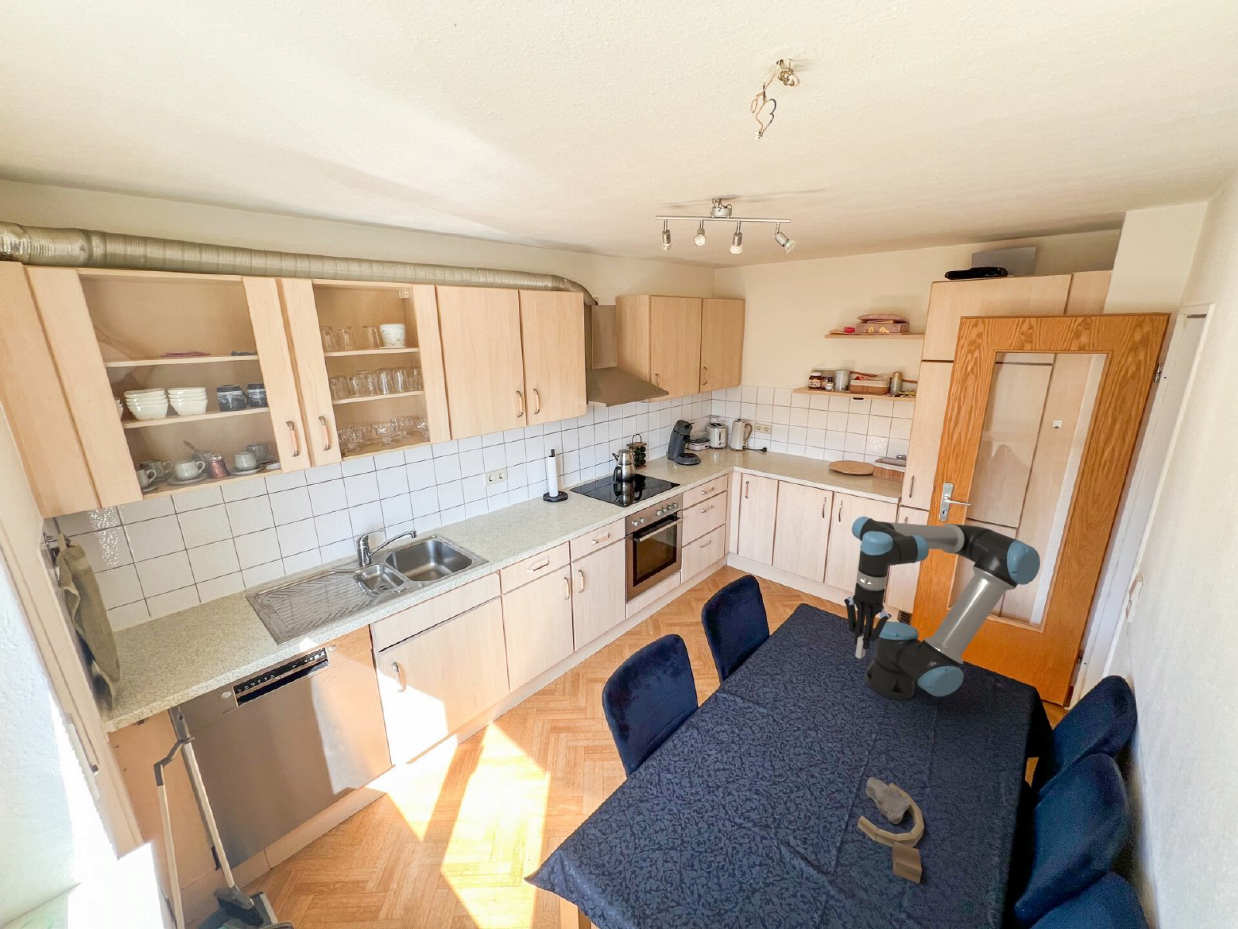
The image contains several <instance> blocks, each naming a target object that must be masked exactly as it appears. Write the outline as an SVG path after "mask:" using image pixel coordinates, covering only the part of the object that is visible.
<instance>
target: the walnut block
mask: <svg viewBox="0 0 1238 929" xmlns="http://www.w3.org/2000/svg"><path fill="white" fill-rule="evenodd" d="M891 857H892V858H891V859H892V868H893V875H895V876H897V877H900V878H903V879H906V880H909V881H911V882H914V883H917V884H920V882H921V881H920V880H921V876H922V872H923V869H922V863H921V855H920V849H917V848H914V847H909V846H906V845H904V844H901V843H898V842H895V841H894V845H893V847H892V852H891Z"/></svg>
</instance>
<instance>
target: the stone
mask: <svg viewBox="0 0 1238 929" xmlns="http://www.w3.org/2000/svg"><path fill="white" fill-rule="evenodd" d="M865 794H866V796H867V797H868V798H869V799H871V800H873V801H874V803H875V804H876V808H877V809H878V811H879V812H880V813H881V814H882V816H884V817H885V818H886V819H887V820H888V822H890V823H892V824H893V825H898V824H899V823H900V822H902V820H903V819H904V818H903V817H904V814H905V812H907V811H908V810H907V809H908V808H909V806H910V803H911V801H910V800H909V799H908V798H907V797H906V796H905V795H903V794H901V793H900V792H899V790H898V789H895V788H891V787H889V785H887V784H886V782H884V781H883V780H880V779H877V778H875V777H874V776H870V777H869V779H868V780H867V782H866V789H865Z"/></svg>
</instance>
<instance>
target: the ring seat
mask: <svg viewBox="0 0 1238 929" xmlns="http://www.w3.org/2000/svg"><path fill="white" fill-rule="evenodd" d="M888 786H889V787H891V788H895V789H898V790H899V792H900V793H901V794H903V795H905V796H906V797H907V798H908V799H909V800H910V801H911V803H910V806H909V808H908V809H907V810H906V811H908V813H909V814H910V815H911V817H912V820H913V825H914V827H913V828H912V829H911V830H910V832H903V833H894V832H893V833H892V832H889V831H886V830H885V829H884V830H883V829H881V828H878V827H877V826H876V825H874V824H873V823H872V822H870V821H869V820H868V819H867V818H866V817H865V816H864V815H861V816H860V817H859V818H858V820H857V825H856V827H857V828H858V829H860V830H861V831H862V832H863V833H864V834H866V835H867V836H868V837H869V838H871V839H872V840H873V841H875V842H876V843H879V844H881V845H882V844H883V845H885V846H888V847H890V848H893V845H894V841H895V842H898V843H901V844H904V845H906V846H909V847H912V848H914V847H915V846H916V845H917V843H918V842H919V841H920V839H921V838H922V837H923V834H924V829H925V824H924V818H923V813H922V810H921V809H920V808H919V806H918V805H917V803H916V802H915V801H914V800H913V798H912V797H911V796H910V794H908V793H907V792H905V791H904V790H903V789H901V788H900V787H898V786H897V785H895V784H894V783H892V782H891V783H889V785H888Z"/></svg>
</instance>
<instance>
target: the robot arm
mask: <svg viewBox="0 0 1238 929" xmlns="http://www.w3.org/2000/svg"><path fill="white" fill-rule="evenodd" d="M851 533H852V535H853V536H854V537H855V538H856V539H858V540H859V541H860V542H861V543H860V548H859V549H860V551H859V557H858V558H859V560H858V566H857V574H856V583H855V588H854V595H853V596H848V597H847V598H845V599H844V600H843V602H844V604H845V606H846V610H847V611H846V613H847V621H848V622H847V623H848V629H849V631H850V632H852V633H854V635H855V636H854V641H853V644H854V645H855V646H856V650H855V658H857V659H860V660H861V659H863V657H865V655H866V651H867V650H868V649H870V647H871V646H870V644H871V642H875V641H876V642H875V648H874V654H873V655H874V656H873V660H872V662H870V664H869V666H868V667H867V669H866V671H865V683H866V684H867V685H868V687H869V688H871V690H873V691H874V692H876V693H877V694H879V695H880V696H882V697H886V698H887V699H892V700H896V701H898V700H899V701H903V700H905V701H906V700H909V699H911V698H912V697H913V696H914V695H915V688H916V687H915V686H916V685H915V683H916V684H917V685H918V687H919V688H921V689H923V690H924V691H925V692H927V693H928V694H930V695H932V696H935V697H945V696H947V695H950V694H952V693H954V692H955V691H957V690H958V689H959V688H960V687H961V685H962V683H963V681H964V678H965V676H964V672H963V670H962V669H961V667H962V666H963V664H964V661H963V658H962V654H963V653H964V652H965V651H966V649H967V648H968V646H969V645H970V643H971V642H972V640H973V639H974V637H975V636H976V635H977V633H978V632H979V630H980V629H981V628H982V627H983V624H984V623H985V622H986V620H987V619H988V617H989V616H990V614H991V613H992V611H993V610H994V609H995V607H996V606H997V604H998V603H999V601H1000V600H1001V598H1002V597H1003V595H1004V594H1005V593H1006V591H1011V590H1015V589H1016V588H1017V587H1018V585H1021V586H1025V585H1028V584H1029V583H1031V582H1033V581H1034V580H1035V578H1036V577H1037V575H1038V574H1039V570H1040V568H1041V567H1040V566H1041V558H1040V555H1039V553H1038V551H1037V549H1035V547H1033V546H1031V545H1029V544H1027V543H1025V542H1024V541H1022V540H1019V539H1016V538H1012V537H1010V536H1007V535H1004V534H1002V533H999V532H997V531H995V530H993V529H990V528H986V527H982V526H977V525H970V524H956V523H946V524H943V525H931V524H930V525H928V524H918V523H917V524H914V523H903V522H889V521H880V520H879V521H878V520H874V519H873V518H871V517H868V516H860V517H858V518H856V519H855V520H854V521H853V523H852V526H851ZM930 550H942V551H943V552H945V553H947V554H955V555H958V556H960V557H963V558H965V559H968V560H969V561H971V562H972V563H974V564H973V566H972V570H973V572H974V575H972V577H971V579H970V580H969V581H968V584H967V585H966V586H965V587H964V589H963V591H962V593H961V594H960V596H959V597H958V598H957V600H956V601H955V603H954V604H953V605H952V607H951V609H950V610H949V612H948V613H947V614H946V615H945V617H944V619H943V620H942V622H941V623H940V625H939V626H938V628H937V629H936V631H935V632H934V633H933V635H932V636H931V637H925V638H923V640H922V641H921V640H919V636H920V635H919V631H918V629H917V628H915V627H914V626H912V625H910V624H908V623H904V622H899V621H889V620H890V619H891V618H892V614H890V613H887V612H886V611H885V607H884V598H885V594H886V588H887V579H888V573H889V568H890V567H891V566H896V565H897V566H898V565H904V564H907V565H908V564H915V563H918V562H923V561H925V560H926V559H927V558H928V557H929V553H930ZM856 609H857V611H856ZM878 614H880V615H879V620H878V621H877V623H876V626H875V628H874V624H875V619H876V616H877V615H878Z"/></svg>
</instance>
